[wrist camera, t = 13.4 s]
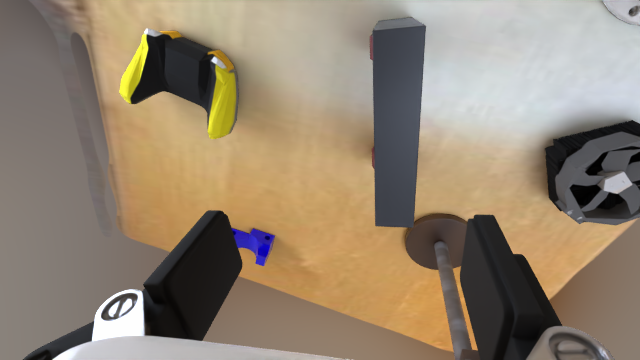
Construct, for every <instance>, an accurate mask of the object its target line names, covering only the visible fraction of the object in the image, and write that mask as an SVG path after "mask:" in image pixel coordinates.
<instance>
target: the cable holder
mask: <svg viewBox="0 0 640 360" xmlns="http://www.w3.org/2000/svg"><path fill="white" fill-rule="evenodd" d="M232 231H233V235H234V238H235V241H236V244H237V247H238V248H247V249H250V250H251V251H253V252H254V253H255V255H256V264H259V265H262V266H264V265H265V263H266V261H267V259H268V257H269V255H270V253H271V251H272V247H273V242H274V238H275V236H274V235H271V234H268V233H265V232H262V231H259V230H256V229H252V231H251V233H250V234H248V233H245V232H242V231H239V230H236V229H233V228H232Z"/></svg>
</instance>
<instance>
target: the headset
mask: <svg viewBox="0 0 640 360" xmlns="http://www.w3.org/2000/svg"><path fill="white" fill-rule="evenodd" d="M425 31H426V26H425V25H424V24H422V23H420V22H419V21H417V20H416V19H414V18H412V17H410V18H401V19H391V20H382V21H378V23H377V24H376V26H375V28H374V29H373V31H372V35H371V36H370V59H371V60H373V101H374V147H373V148H372V166H373V168H374V169H375V226H384V227H408V228H413V227H414V211H415V195H416V179H417V162H418V146H419V129H420V113H421V97H422V80H423V64H424V47H425Z"/></svg>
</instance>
